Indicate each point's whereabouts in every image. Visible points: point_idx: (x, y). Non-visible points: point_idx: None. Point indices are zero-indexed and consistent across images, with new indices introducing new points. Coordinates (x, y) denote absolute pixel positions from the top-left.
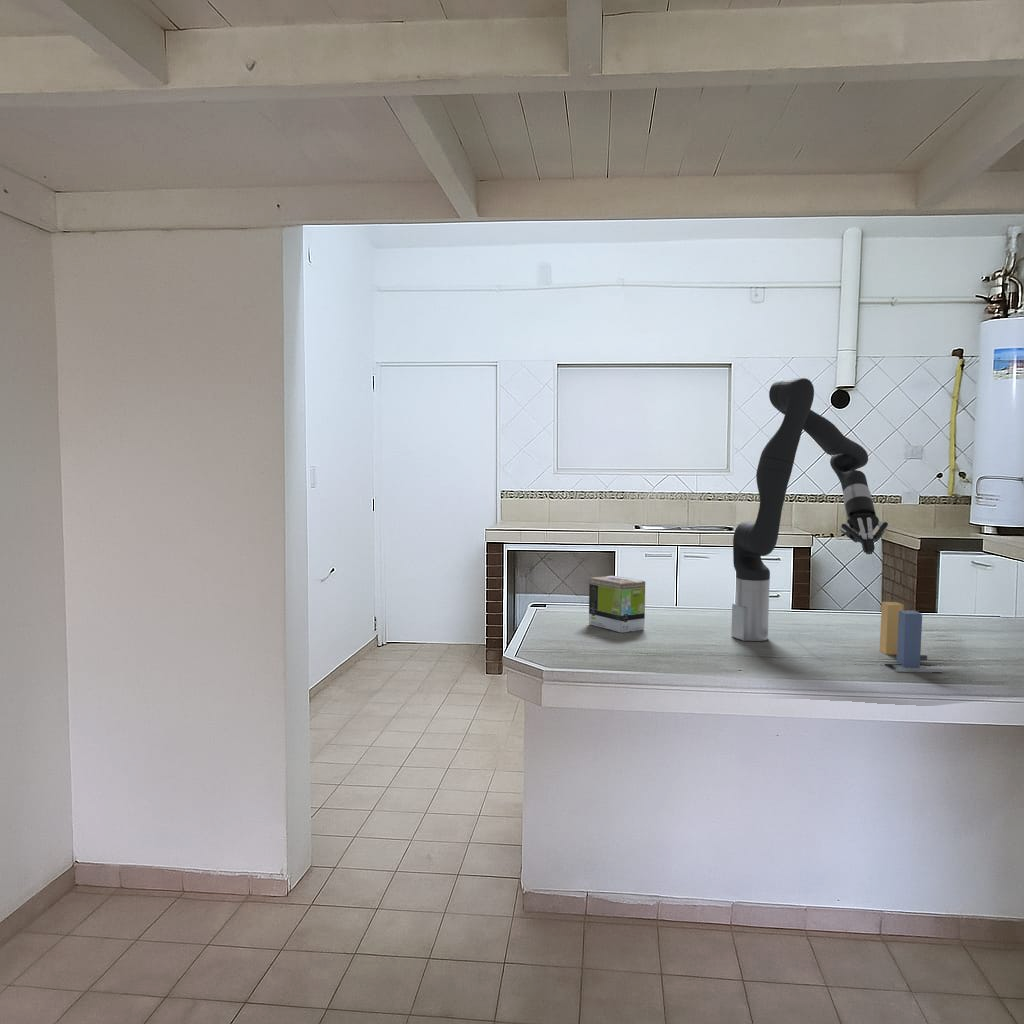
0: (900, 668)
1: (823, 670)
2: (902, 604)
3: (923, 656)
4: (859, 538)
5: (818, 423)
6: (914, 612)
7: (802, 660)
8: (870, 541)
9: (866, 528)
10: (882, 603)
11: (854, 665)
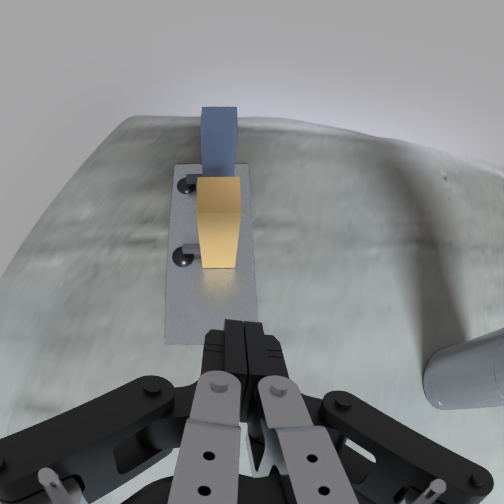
0: (241, 164)
1: (353, 174)
2: (198, 181)
3: (192, 174)
4: (314, 403)
5: None
6: (211, 116)
7: (379, 224)
8: (230, 357)
9: (243, 481)
10: (240, 209)
11: (303, 199)
